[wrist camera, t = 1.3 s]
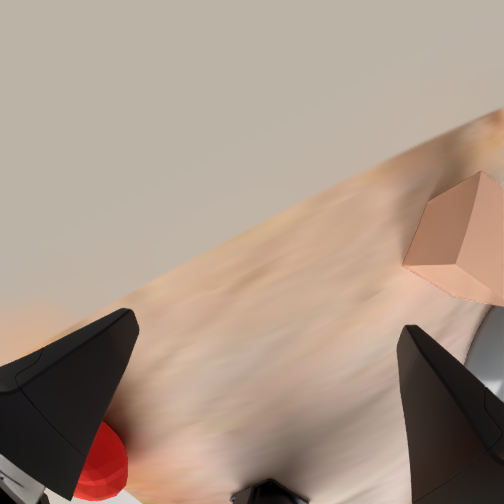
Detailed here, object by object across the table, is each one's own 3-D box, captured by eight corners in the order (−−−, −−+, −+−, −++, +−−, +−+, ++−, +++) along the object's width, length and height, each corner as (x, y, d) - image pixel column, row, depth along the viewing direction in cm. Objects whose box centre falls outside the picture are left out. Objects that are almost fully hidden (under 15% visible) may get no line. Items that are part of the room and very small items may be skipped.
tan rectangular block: (453, 297, 20) (515, 309, 11) (402, 265, 21) (455, 264, 12) (476, 235, 19) (537, 221, 11) (427, 201, 20) (481, 170, 12)
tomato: (90, 378, 26) (24, 407, 15) (162, 458, 24) (115, 511, 13) (58, 418, 27) (8, 443, 16) (115, 483, 25) (74, 520, 14)
